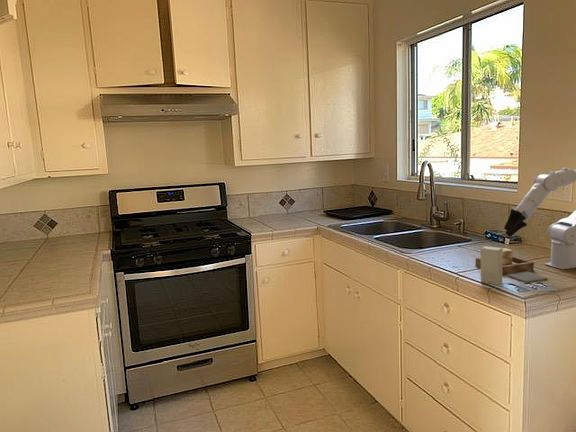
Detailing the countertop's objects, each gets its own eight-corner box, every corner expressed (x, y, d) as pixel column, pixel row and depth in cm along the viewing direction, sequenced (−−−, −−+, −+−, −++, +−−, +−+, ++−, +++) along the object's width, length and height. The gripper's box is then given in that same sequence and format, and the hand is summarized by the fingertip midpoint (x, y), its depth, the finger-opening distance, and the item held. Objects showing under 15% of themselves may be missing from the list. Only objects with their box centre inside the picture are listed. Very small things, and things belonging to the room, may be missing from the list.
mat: (526, 272, 163) (526, 271, 163) (547, 279, 154) (547, 278, 154) (506, 276, 160) (506, 274, 160) (526, 283, 152) (526, 281, 152)
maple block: (504, 260, 172) (504, 248, 171) (512, 263, 168) (512, 250, 168) (495, 262, 171) (495, 249, 170) (503, 264, 167) (503, 251, 167)
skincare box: (502, 282, 154) (503, 247, 152) (498, 285, 151) (499, 250, 149) (484, 279, 158) (485, 245, 156) (479, 282, 155) (480, 248, 153)
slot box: (505, 261, 179) (505, 253, 178) (533, 270, 165) (533, 262, 165) (475, 265, 175) (475, 258, 174) (501, 275, 162) (502, 267, 161)
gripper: (521, 203, 172) (498, 231, 173) (519, 190, 160) (495, 221, 161) (538, 212, 168) (515, 241, 169) (538, 201, 156) (514, 232, 157)
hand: (507, 232), depth 165 cm, fingers open, 7 cm apart
